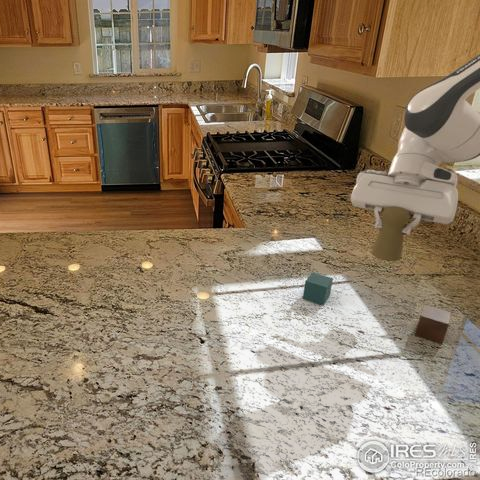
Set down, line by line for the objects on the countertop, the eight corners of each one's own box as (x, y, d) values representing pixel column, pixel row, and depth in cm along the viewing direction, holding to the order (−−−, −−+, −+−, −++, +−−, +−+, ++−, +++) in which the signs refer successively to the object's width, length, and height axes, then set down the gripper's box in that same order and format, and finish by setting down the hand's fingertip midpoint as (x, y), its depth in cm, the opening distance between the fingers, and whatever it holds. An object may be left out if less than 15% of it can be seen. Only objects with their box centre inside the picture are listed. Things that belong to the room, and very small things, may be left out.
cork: (367, 255, 94) (377, 208, 89) (376, 245, 98) (387, 201, 93) (396, 263, 90) (409, 216, 85) (405, 254, 94) (417, 207, 89)
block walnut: (414, 335, 90) (420, 315, 87) (418, 323, 93) (423, 304, 91) (442, 344, 87) (449, 324, 85) (444, 331, 91) (451, 312, 88)
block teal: (302, 298, 102) (305, 280, 100) (309, 289, 106) (312, 272, 104) (323, 305, 100) (326, 287, 97) (329, 295, 103) (333, 278, 101)
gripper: (359, 161, 97) (340, 214, 94) (466, 176, 86) (448, 236, 83) (360, 175, 102) (342, 226, 99) (462, 190, 91) (444, 248, 88)
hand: (391, 231), depth 91 cm, fingers closed on cork, 4 cm apart
